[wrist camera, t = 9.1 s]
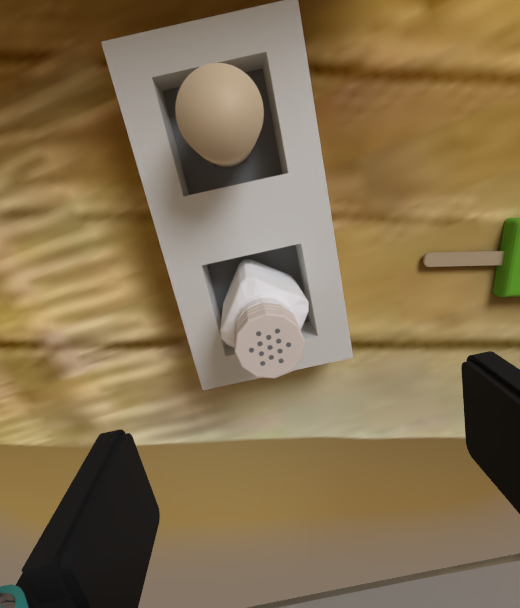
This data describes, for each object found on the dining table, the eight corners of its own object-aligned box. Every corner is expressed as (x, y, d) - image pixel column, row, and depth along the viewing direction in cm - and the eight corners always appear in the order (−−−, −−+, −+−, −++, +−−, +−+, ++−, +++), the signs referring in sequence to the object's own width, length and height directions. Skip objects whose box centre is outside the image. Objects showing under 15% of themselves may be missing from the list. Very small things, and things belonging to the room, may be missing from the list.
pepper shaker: (273, 327, 27) (292, 398, 18) (220, 307, 26) (212, 370, 17) (296, 276, 26) (329, 323, 17) (242, 254, 25) (245, 291, 16)
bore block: (287, 29, 23) (313, -53, 15) (337, 334, 29) (374, 389, 21) (123, 66, 23) (65, 3, 15) (207, 363, 29) (196, 428, 21)
